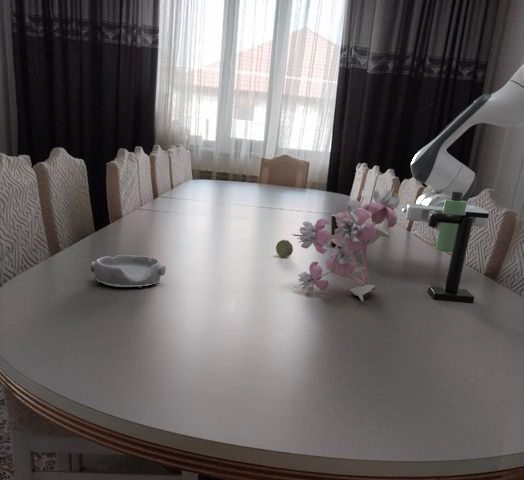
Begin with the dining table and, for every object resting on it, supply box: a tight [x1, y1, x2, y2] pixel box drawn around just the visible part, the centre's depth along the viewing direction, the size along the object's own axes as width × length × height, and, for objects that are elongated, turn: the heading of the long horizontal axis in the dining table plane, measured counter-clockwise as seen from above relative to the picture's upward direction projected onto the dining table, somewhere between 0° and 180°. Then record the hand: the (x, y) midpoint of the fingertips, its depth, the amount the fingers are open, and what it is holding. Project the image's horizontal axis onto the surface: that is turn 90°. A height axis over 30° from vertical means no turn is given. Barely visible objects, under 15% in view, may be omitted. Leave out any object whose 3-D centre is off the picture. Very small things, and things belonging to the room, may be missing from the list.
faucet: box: [427, 211, 490, 304], centre depth 119 cm, size 12×7×20 cm, turn 85°
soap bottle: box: [435, 191, 467, 253], centre depth 127 cm, size 5×5×14 cm
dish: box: [90, 254, 167, 289], centre depth 114 cm, size 14×14×5 cm
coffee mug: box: [330, 213, 366, 249], centre depth 174 cm, size 12×9×10 cm
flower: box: [291, 184, 401, 302], centre depth 115 cm, size 20×22×25 cm
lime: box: [275, 239, 294, 259], centre depth 152 cm, size 4×5×5 cm
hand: (453, 219), depth 126 cm, fingers closed on soap bottle, 5 cm apart
